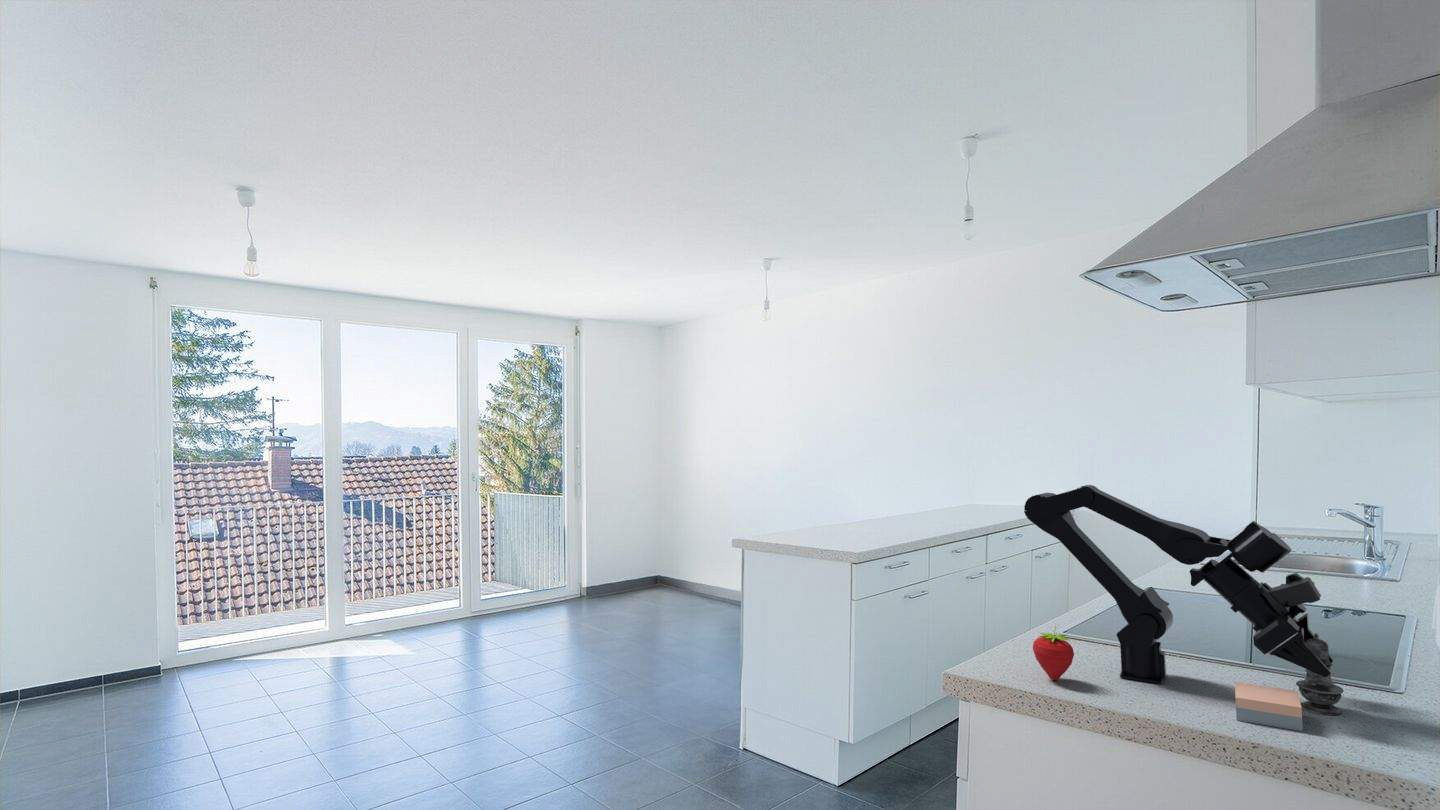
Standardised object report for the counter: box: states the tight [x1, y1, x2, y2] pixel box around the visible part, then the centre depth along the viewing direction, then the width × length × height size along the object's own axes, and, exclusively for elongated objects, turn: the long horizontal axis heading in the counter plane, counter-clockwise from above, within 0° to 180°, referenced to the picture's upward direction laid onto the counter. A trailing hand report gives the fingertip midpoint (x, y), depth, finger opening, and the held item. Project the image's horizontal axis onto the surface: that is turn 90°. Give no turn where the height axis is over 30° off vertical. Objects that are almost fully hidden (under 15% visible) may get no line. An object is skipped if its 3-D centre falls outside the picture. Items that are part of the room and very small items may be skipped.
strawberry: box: [1032, 625, 1075, 681], centre depth 131 cm, size 6×8×10 cm
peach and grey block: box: [1234, 681, 1304, 732], centre depth 113 cm, size 8×8×4 cm
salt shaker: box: [1295, 632, 1345, 717], centre depth 115 cm, size 6×6×12 cm
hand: (1329, 668), depth 114 cm, fingers open, 7 cm apart
